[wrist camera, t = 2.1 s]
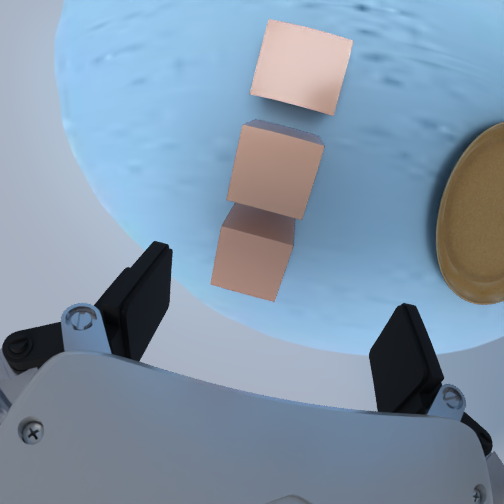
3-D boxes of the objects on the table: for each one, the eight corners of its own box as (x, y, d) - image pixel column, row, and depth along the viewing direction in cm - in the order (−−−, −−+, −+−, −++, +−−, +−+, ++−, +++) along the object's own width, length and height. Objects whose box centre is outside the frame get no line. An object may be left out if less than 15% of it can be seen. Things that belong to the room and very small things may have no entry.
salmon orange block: (236, 199, 32) (221, 226, 26) (295, 215, 32) (293, 245, 26) (226, 250, 35) (210, 284, 29) (279, 265, 35) (274, 301, 29)
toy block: (255, 119, 28) (242, 124, 22) (318, 135, 28) (324, 146, 21) (241, 178, 31) (226, 199, 25) (301, 194, 31) (301, 220, 25)
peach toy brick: (275, 37, 23) (268, 19, 17) (341, 54, 23) (353, 40, 17) (260, 95, 26) (249, 94, 20) (325, 112, 26) (333, 116, 20)
